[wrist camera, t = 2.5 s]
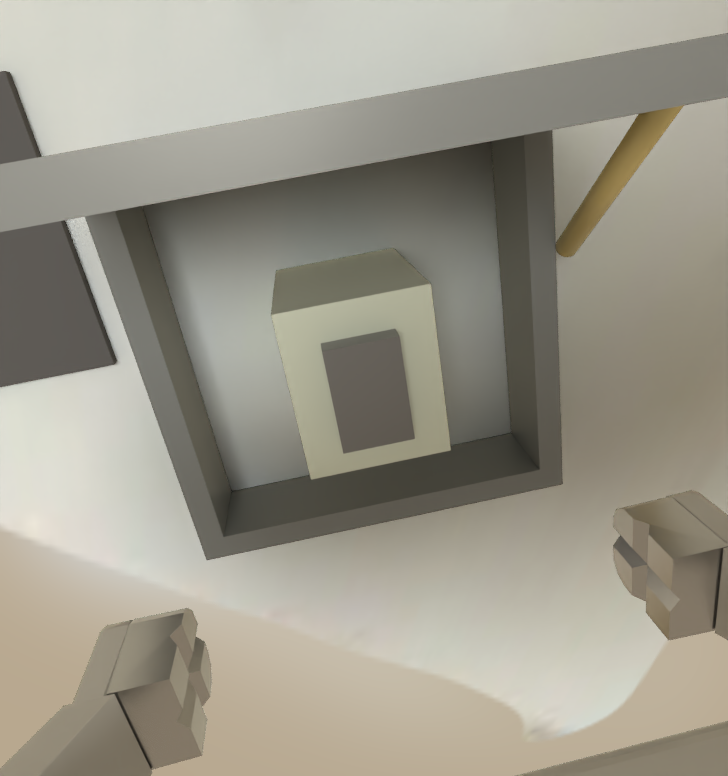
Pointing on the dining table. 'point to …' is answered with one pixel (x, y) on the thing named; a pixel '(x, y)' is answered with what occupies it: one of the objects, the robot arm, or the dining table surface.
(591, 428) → the dining table surface
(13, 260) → the mat
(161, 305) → the case
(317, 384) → the block
